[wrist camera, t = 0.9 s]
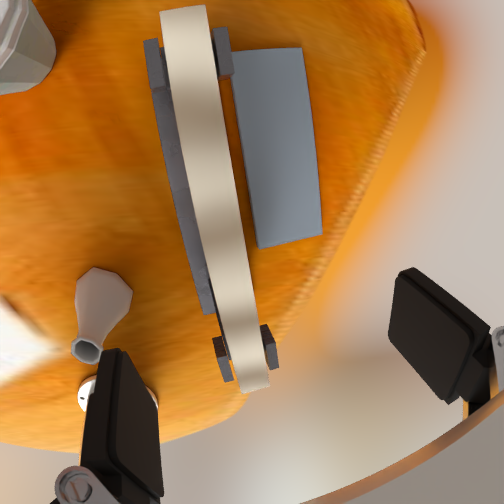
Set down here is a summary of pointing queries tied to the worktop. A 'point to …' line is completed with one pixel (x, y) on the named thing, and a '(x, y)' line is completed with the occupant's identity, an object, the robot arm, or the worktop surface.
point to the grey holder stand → (182, 189)
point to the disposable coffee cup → (23, 46)
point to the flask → (98, 311)
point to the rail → (213, 186)
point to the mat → (277, 144)
